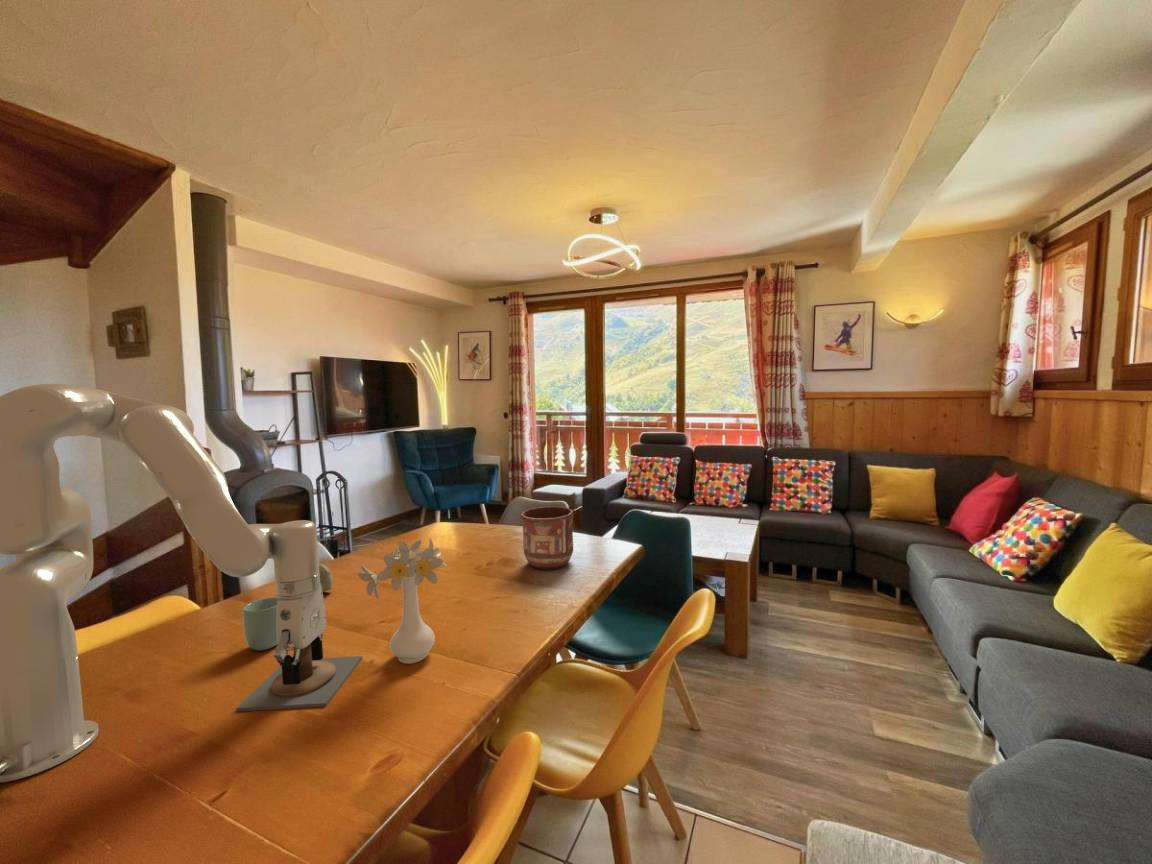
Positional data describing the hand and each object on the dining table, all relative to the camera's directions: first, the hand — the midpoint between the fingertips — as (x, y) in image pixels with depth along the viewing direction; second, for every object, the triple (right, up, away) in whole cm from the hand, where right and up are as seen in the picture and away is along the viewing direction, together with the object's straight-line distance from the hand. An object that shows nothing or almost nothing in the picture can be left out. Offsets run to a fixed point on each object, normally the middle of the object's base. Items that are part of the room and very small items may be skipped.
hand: (304, 670), depth 93 cm
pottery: (+45, +3, +65) cm, 79 cm away
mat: (0, -2, 0) cm, 2 cm away
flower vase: (+19, -2, +8) cm, 20 cm away
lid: (0, -2, 0) cm, 2 cm away
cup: (-18, -2, +15) cm, 23 cm away
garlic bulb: (-22, -1, +45) cm, 50 cm away
